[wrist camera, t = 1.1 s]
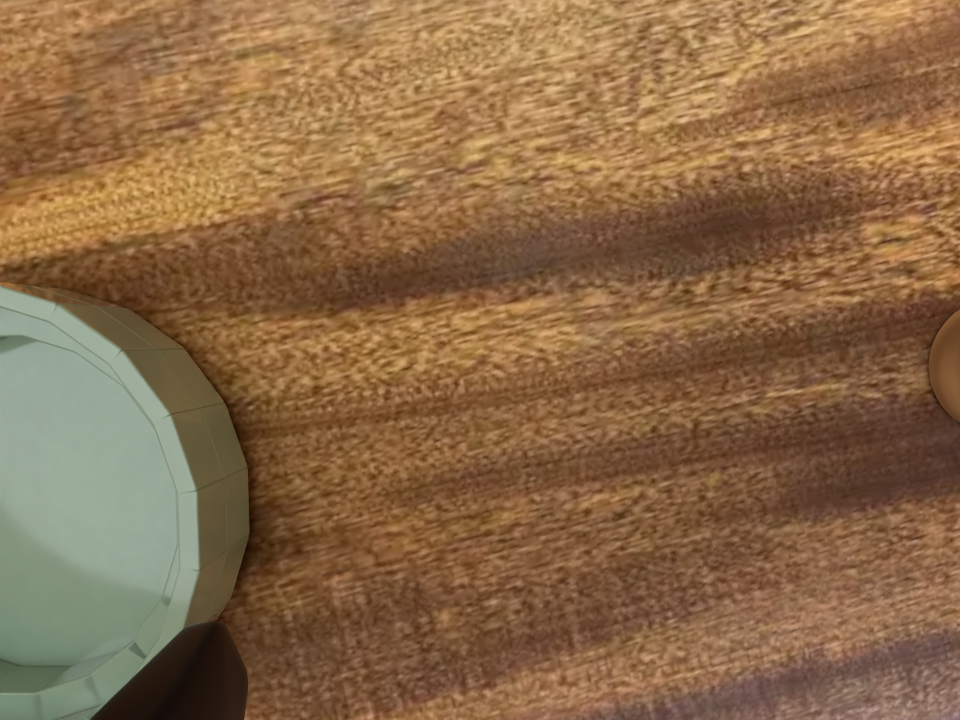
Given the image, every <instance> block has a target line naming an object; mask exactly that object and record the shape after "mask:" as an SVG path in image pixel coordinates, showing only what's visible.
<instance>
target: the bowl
mask: <svg viewBox="0 0 960 720" xmlns="http://www.w3.org/2000/svg"><path fill="white" fill-rule="evenodd" d="M248 535H249V497H248V468H247V464H246V461H245V458H244V455H243V452H242V449H241V447H240V444H239V441H238V438H237V435H236V432H235V429H234V426H233V424H232V421H231V418H230V415H229V412H228V409H227V406H226V404H225V403H224V401H223V399H222V398H221V397H220V395H219V394H218V393H217V391H216V390H215V389H214V387H213V386H212V385H211V383H210V382H209V381H208V379H207V378H206V377H205V375H204V374H203V373H202V371H201V370H200V369H199V367H198V366H197V365H196V363H195V362H194V361H193V359H192V358H191V357H190V355H189V354H188V353H187V351H186V350H185V349H183V347H182V346H181V345H179V344H178V343H177V342H175V341H174V340H172V339H171V338H170V337H168V336H167V335H165V334H164V333H163V332H161V331H160V330H158V329H157V328H156V327H154V326H153V325H151V324H150V323H148V322H147V321H146V320H144V319H143V318H141V317H140V316H139V315H137V314H136V313H134V312H133V311H132V310H130V309H127V308H125V307H122V306H118V305H115V304H112V303H109V302H106V301H102V300H99V299H96V298H93V297H89V296H86V295H83V294H80V293H76V292H73V291H70V290H66V289H58V288H49V287H40V286H30V285H22V284H13V283H4V282H0V720H89V719H90V718H91V717H92V716H93V715H94V714H95V713H96V712H98V711H99V710H100V709H101V708H102V707H103V706H104V705H105V704H106V703H107V702H108V701H109V700H110V699H111V698H112V697H113V696H114V695H115V694H116V693H117V692H118V691H119V690H120V689H121V688H122V687H123V686H124V685H125V684H126V683H127V682H128V681H130V680H131V679H132V678H133V677H134V676H135V675H136V674H137V673H138V672H139V671H140V670H141V669H142V668H143V667H144V666H145V665H146V664H147V663H148V662H149V661H150V660H151V659H152V658H153V657H154V656H155V655H156V654H157V653H158V652H159V651H161V650H162V649H163V648H164V647H165V646H166V645H167V644H168V643H169V642H170V641H171V640H172V639H173V638H174V637H175V636H176V635H177V634H178V633H179V632H180V631H181V630H182V629H184V628H185V627H187V626H189V625H192V624H197V623H203V622H208V621H214V620H217V619H218V617H219V616H220V614H221V613H222V611H223V610H224V609H225V607H226V606H227V604H228V603H229V600H230V598H231V596H232V593H233V589H234V586H235V583H236V579H237V576H238V572H239V569H240V566H241V562H242V559H243V555H244V552H245V549H246V545H247V542H248V538H249V536H248Z"/></svg>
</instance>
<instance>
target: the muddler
mask: <svg viewBox="0 0 960 720" xmlns="http://www.w3.org/2000/svg"><path fill="white" fill-rule="evenodd" d="M929 377H930V382H931V386H932V389H933V391H934V394H935V396H936V398H937V400H938V401H939V403H940V404H941V406H942V407H943V408H944V409H945V411H946V412H947V413H948V414H949V415H950V416H951V417H952V418H953V419H955V420H956V421H958V422H959V423H960V309H959V310H958V311H957V312H955V313H954V314H953V315H952V316H951V317H950V318H949V319H948V320H947V321H946V322H945V323H944V324H943V326H942V327H941V328H940V330H939V332H938V333H937V335H936V337H935V339H934V342H933V344H932V347H931V351H930V356H929Z"/></svg>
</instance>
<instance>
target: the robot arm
mask: <svg viewBox="0 0 960 720" xmlns="http://www.w3.org/2000/svg"><path fill="white" fill-rule="evenodd" d="M247 693H248V677H247V672H246V668H245V665H244V663H243V661H242V659H241V657H240V655H239V652H238V650H237V648H236V646H235V644H234V641H233V639H232V637H231V635H230V633H229V630H228V629H227V627H226V625H225V624H224V623H223V622H221V621H217V620H214V621H208V622H203V623H197V624H192V625H189V626H187V627H185V628H184V629H182V630H181V631H180V632H179V633H178V634H177V635H176V636H175V637H174V638H173V639H172V640H171V641H170V642H169V643H168V644H167V645H166V646H165V647H164V648H163V649H162V650H161V651H159V652H158V653H157V654H156V655H155V656H154V657H153V658H152V659H151V660H150V661H149V662H148V663H147V664H146V665H145V666H144V667H143V668H142V669H141V670H140V671H139V672H138V673H137V674H136V675H135V676H134V677H133V678H132V679H131V680H130V681H128V682H127V683H126V684H125V685H124V686H123V687H122V688H121V689H120V690H119V691H118V692H117V693H116V694H115V695H114V696H113V697H112V698H111V699H110V700H109V701H108V702H107V703H106V704H105V705H104V706H103V707H102V708H101V709H100V710H99V711H98V712H96V713H95V714H94V715H93V716H92V717H91V718H90V719H89V720H244V717H245V709H246V701H247Z"/></svg>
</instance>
